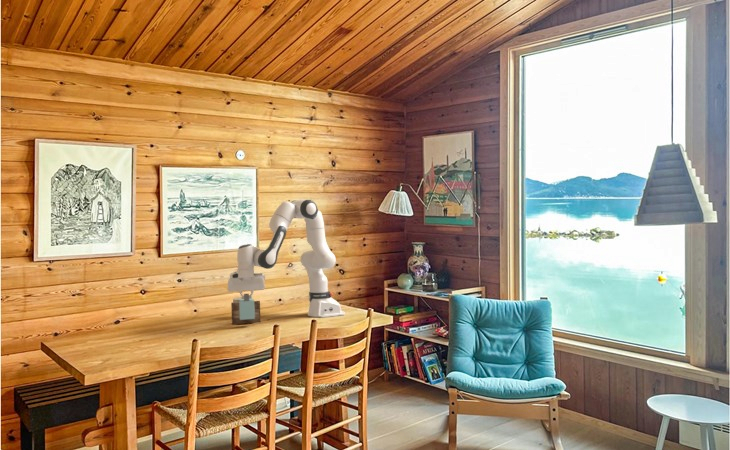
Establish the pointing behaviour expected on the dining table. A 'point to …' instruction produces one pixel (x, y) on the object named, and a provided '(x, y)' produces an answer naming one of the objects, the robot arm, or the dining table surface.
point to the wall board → (237, 315)
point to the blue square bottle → (246, 308)
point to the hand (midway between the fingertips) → (246, 298)
